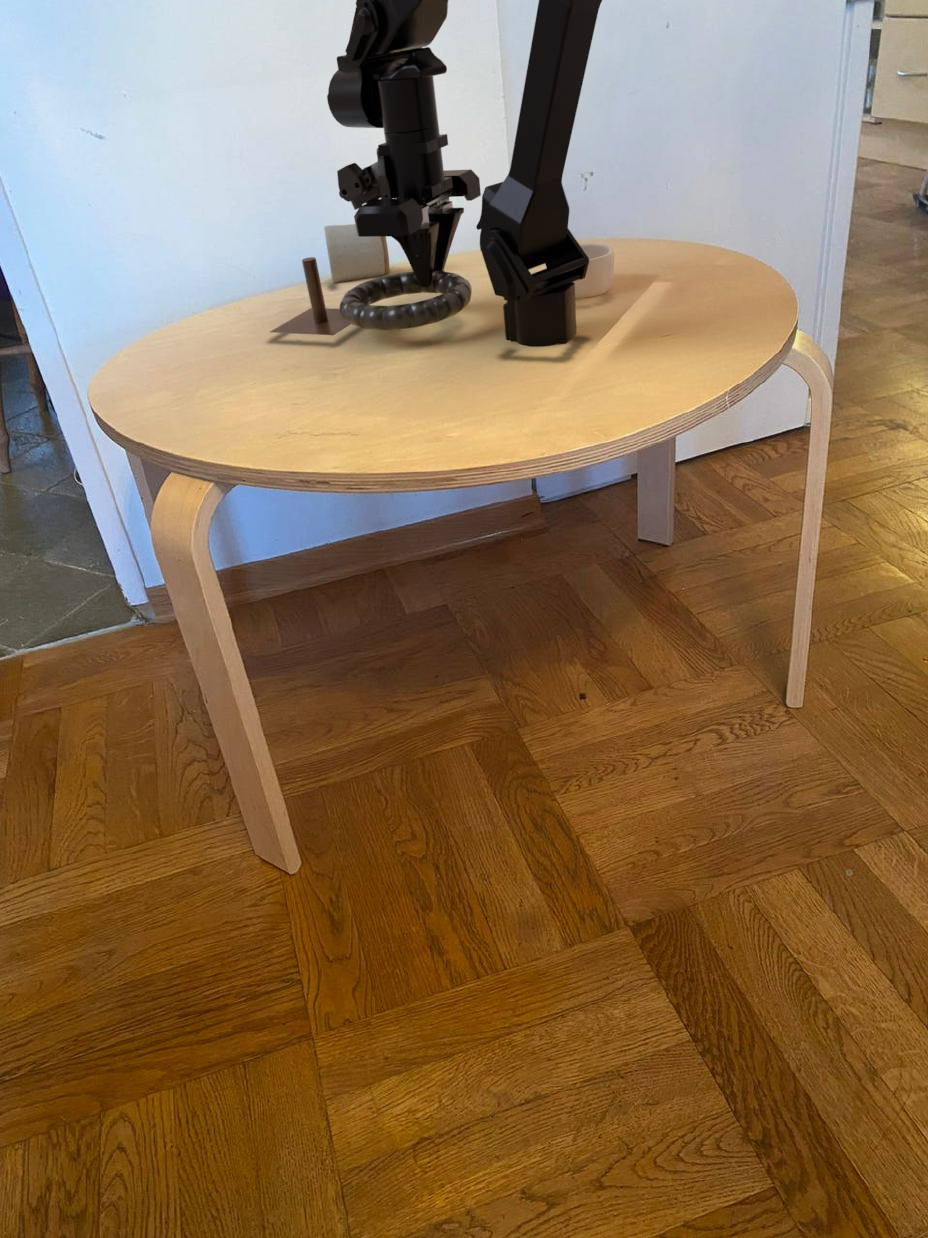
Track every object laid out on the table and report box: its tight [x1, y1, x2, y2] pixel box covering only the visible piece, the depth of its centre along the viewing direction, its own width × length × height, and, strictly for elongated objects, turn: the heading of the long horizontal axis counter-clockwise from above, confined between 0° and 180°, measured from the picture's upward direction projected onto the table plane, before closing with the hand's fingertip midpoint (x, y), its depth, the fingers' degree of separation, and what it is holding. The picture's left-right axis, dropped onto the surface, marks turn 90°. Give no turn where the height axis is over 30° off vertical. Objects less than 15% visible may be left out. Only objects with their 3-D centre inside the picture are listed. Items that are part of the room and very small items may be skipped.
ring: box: [339, 270, 473, 331], centre depth 95 cm, size 14×14×2 cm
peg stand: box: [269, 256, 351, 336], centre depth 101 cm, size 9×9×8 cm
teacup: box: [574, 242, 615, 300], centre depth 102 cm, size 10×8×5 cm
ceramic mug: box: [323, 223, 391, 284], centre depth 119 cm, size 11×8×8 cm
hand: (431, 283), depth 99 cm, fingers closed on ring, 2 cm apart
